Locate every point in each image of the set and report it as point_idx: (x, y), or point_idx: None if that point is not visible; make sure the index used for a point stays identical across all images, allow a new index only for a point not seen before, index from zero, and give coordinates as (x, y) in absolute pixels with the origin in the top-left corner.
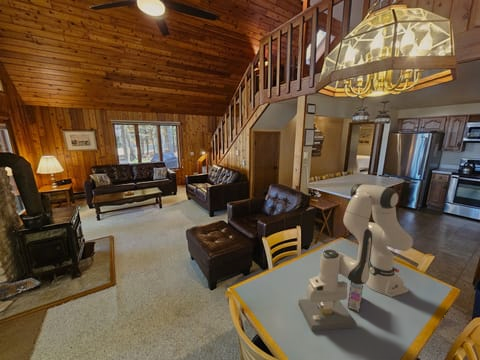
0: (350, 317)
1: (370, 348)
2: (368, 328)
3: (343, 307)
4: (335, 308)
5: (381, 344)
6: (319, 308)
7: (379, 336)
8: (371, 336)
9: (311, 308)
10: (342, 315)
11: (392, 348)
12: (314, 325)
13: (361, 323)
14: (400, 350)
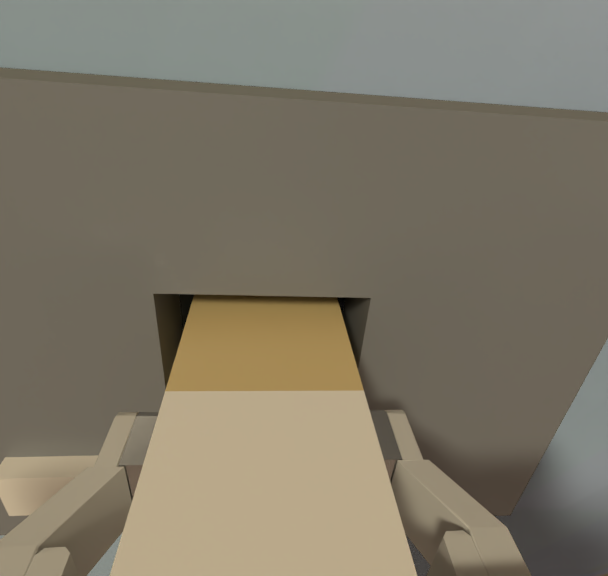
0: (506, 479)
1: (428, 564)
2: (577, 468)
3: (575, 361)
4: (442, 366)
5: (526, 549)
6: (191, 315)
7: (580, 514)
8: (524, 513)
9: (21, 332)
10: (438, 458)
11: (563, 564)
12: (6, 533)
13: (574, 431)
14: (593, 571)
